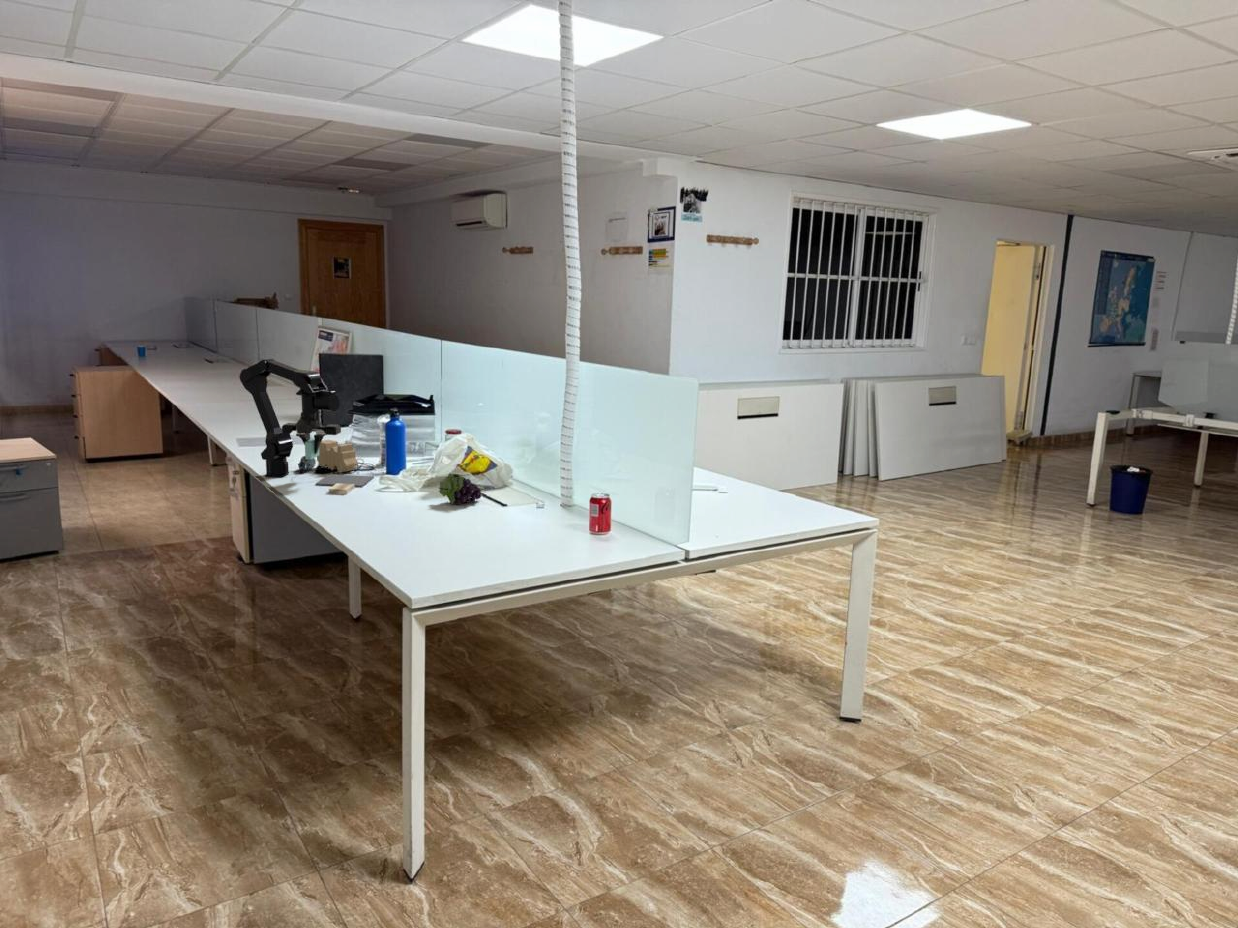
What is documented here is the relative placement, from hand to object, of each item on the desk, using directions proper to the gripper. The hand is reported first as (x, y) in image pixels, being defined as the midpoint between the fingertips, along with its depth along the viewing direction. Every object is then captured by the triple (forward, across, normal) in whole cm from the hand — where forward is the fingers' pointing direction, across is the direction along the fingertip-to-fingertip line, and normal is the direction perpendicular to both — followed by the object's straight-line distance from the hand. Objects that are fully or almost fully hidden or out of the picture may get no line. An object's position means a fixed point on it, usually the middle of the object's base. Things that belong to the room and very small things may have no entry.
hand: (312, 453), depth 301 cm
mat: (+10, +11, +1) cm, 15 cm away
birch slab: (+10, +14, -12) cm, 21 cm away
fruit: (+10, +55, -21) cm, 60 cm away
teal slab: (+1, 0, 0) cm, 1 cm away
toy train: (+10, +2, +19) cm, 22 cm away
